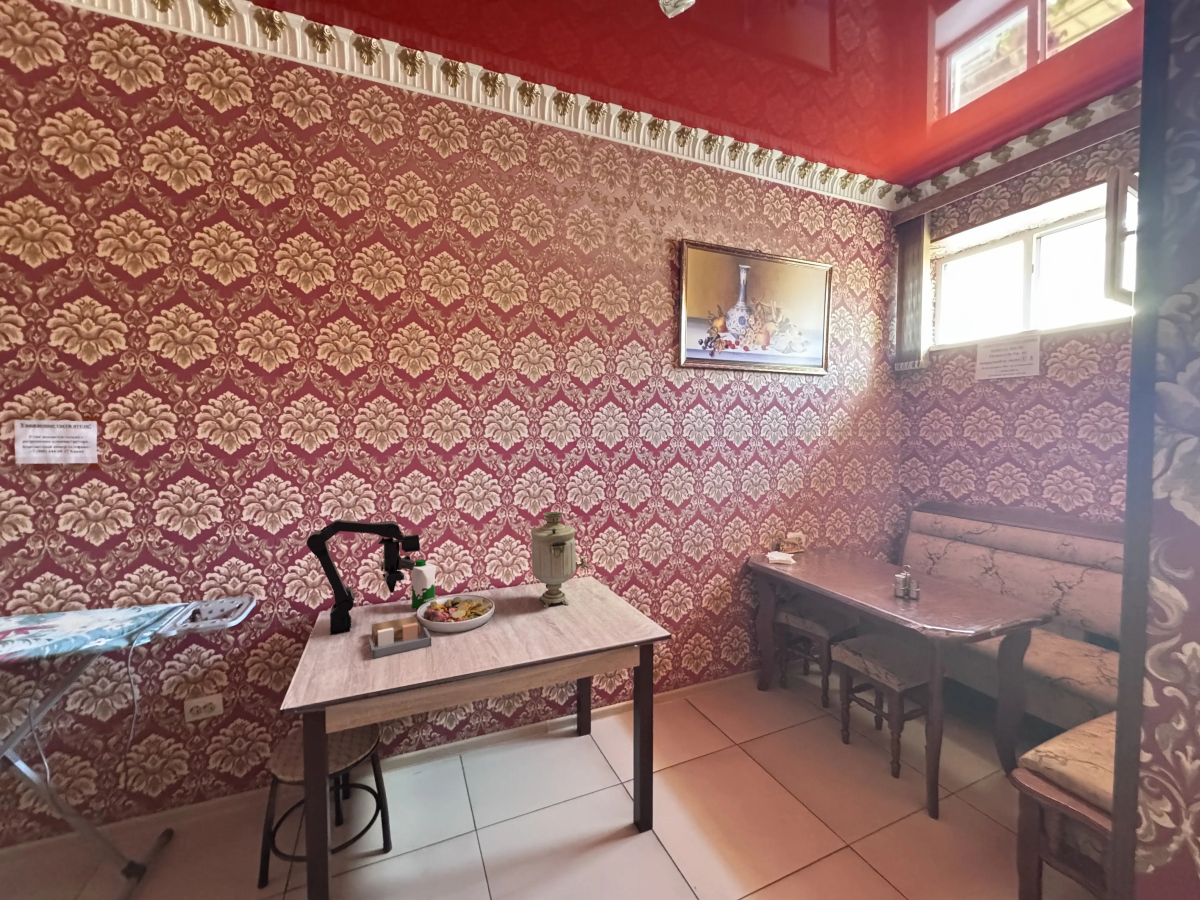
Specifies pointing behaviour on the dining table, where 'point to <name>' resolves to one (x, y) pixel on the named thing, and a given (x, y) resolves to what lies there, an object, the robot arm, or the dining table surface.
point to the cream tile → (385, 637)
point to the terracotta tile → (409, 631)
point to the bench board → (395, 625)
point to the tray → (400, 645)
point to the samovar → (554, 556)
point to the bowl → (455, 612)
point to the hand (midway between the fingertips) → (392, 592)
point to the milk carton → (423, 583)
